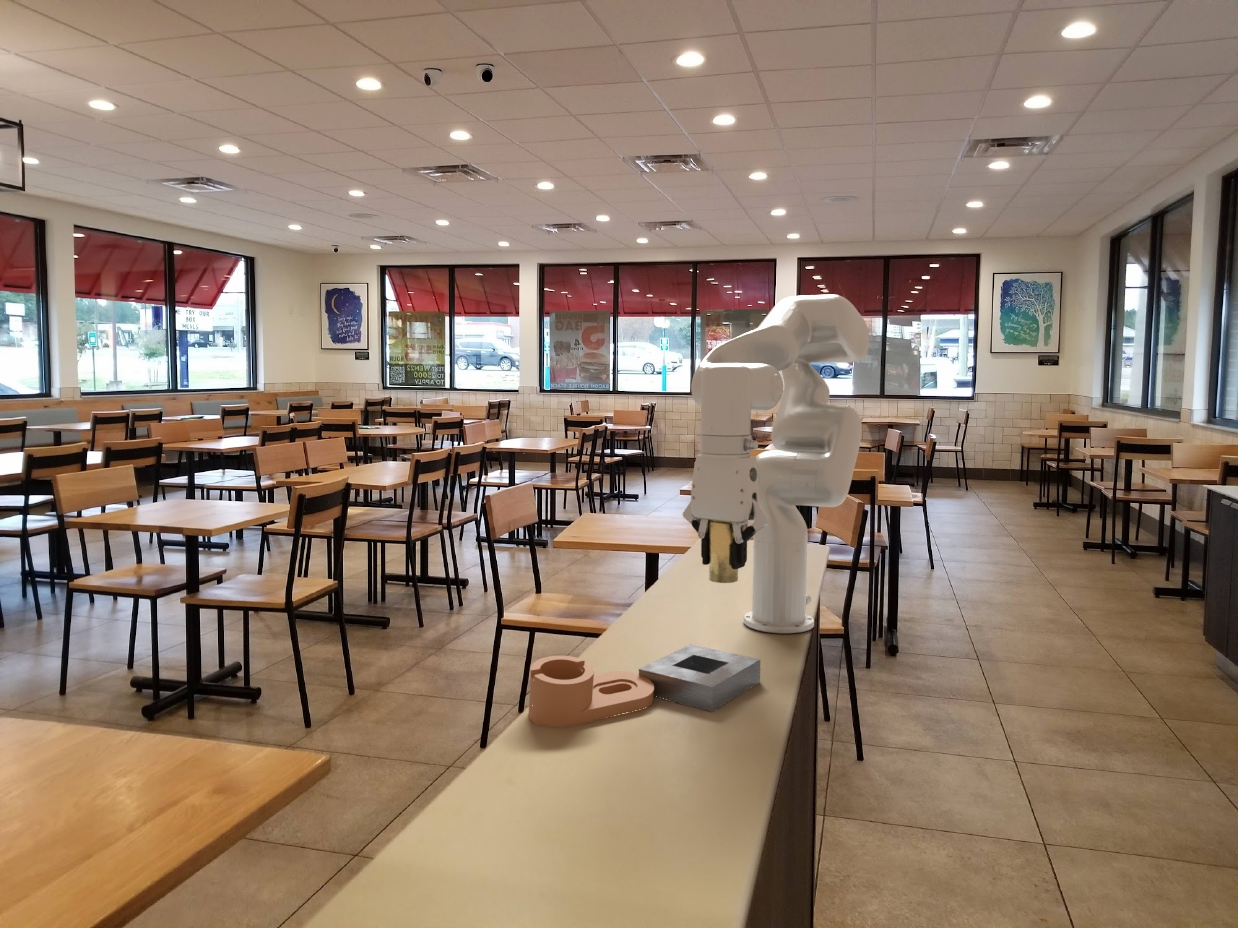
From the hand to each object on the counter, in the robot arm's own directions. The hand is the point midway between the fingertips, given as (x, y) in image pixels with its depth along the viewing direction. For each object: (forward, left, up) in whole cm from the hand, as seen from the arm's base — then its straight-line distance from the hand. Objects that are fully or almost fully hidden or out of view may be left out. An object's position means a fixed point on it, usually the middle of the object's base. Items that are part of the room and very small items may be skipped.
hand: (723, 564), depth 134 cm
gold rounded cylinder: (0, 0, -2) cm, 2 cm away
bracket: (+25, -6, -17) cm, 31 cm away
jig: (+10, +2, -16) cm, 19 cm away
